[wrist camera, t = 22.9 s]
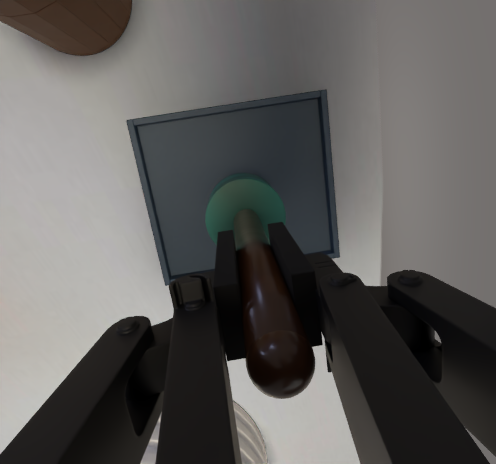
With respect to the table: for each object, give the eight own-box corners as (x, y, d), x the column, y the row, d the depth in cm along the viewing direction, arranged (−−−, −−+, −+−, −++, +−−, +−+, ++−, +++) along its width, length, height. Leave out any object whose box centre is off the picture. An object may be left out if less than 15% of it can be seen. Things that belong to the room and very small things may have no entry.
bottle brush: (273, 167, 28) (403, 250, 7) (281, 235, 29) (408, 458, 9) (202, 178, 27) (135, 293, 7) (214, 246, 29) (188, 496, 9)
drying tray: (321, 91, 34) (326, 89, 32) (335, 252, 39) (340, 257, 37) (131, 121, 34) (126, 120, 32) (168, 279, 39) (165, 286, 37)
